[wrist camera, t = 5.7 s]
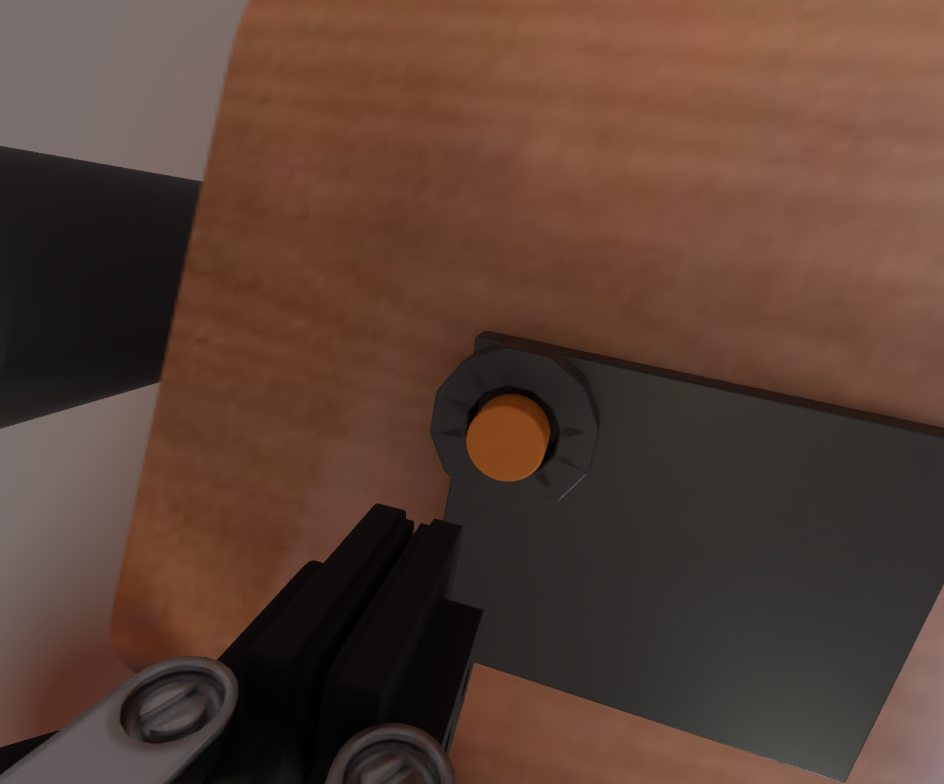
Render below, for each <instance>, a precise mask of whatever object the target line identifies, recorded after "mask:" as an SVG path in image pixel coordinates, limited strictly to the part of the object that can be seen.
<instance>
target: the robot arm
mask: <svg viewBox="0 0 944 784" xmlns="http://www.w3.org/2000/svg"><path fill="white" fill-rule="evenodd" d="M413 531H414V521H412V520H408V519H406V512H405V510H401V509H397V508H394V507H390V506H386V505H382V504H379V503H376V504H375V505H374V506H373V507H372V508H371V509H370V510H369V511H368V513H367V514H366V515H365V516H364V517H363V518H362V520H361V521H360V522H359V523H358V524H357V525H356V526H355V528H354V529H353V530H352V531H351V532H350V533H349V535H348V536H347V537H346V538H345V539H344V540H343V541H342V543H341V544H340V545H339V546H338V547H337V548H336V550H335V551H334V552H333V553H332V554H331V555H330V556H329V558H328V559H327V560H326V561H325V562H324V563H322V562H318V561H315V560H313V561H309V562H308V563H307V564H306V565H304V566H303V567H302V568H301V570H300V571H299V572H298V573H297V574H296V575H295V576H294V577H293V578H292V579H291V580H290V581H289V583H288V584H287V585H286V586H285V587H284V588H283V589H282V590H281V591H280V592H279V593H278V594H277V596H276V597H275V598H274V599H273V600H272V601H271V602H270V603H269V604H268V605H267V606H266V607H265V609H264V610H263V611H262V612H261V613H260V614H259V615H258V616H257V617H256V618H255V619H254V620H253V622H252V623H251V624H250V625H249V626H248V627H247V628H246V629H245V630H244V631H243V632H242V633H241V635H240V636H239V637H238V638H237V639H236V640H235V641H234V642H233V643H232V644H231V645H230V646H229V648H228V649H227V650H226V651H225V652H224V653H223V654H222V655H221V656H220V657H219V658H218V659H217V660H214V659H210V658H207V657H197V656H185V657H179V658H173V659H168V660H165V661H163V662H160V663H157V664H154V665H152V666H149V667H148V668H146V669H144V670H143V671H141V672H139V673H138V674H136V675H135V676H133V677H131V678H130V679H129V680H127V681H126V682H124V683H123V684H122V685H120V686H119V687H118V688H117V689H115V690H114V691H112V692H111V693H110V694H108V695H107V696H106V697H104V698H103V699H102V700H100V701H99V702H97V703H96V704H95V705H93V706H92V707H91V708H90V709H88V710H87V711H85V712H84V713H83V714H82V715H80V716H79V717H77V718H76V719H75V720H73V721H72V722H71V723H70V724H68V725H67V726H65V727H64V728H63V729H61V730H58V731H55V732H52V733H48V734H45V735H42V736H38V737H35V738H31V739H28V740H24V741H21V742H18V743H14V744H11V745H7V746H4V747H1V748H0V784H455V778H454V770H453V767H452V764H451V762H450V759H449V757H448V754H449V750H450V747H451V743H452V740H453V736H454V733H455V729H456V726H457V723H458V719H459V716H460V712H461V709H462V705H463V702H464V698H465V695H466V691H467V687H468V684H469V680H470V676H471V672H472V668H473V664H474V659H475V655H476V650H477V646H478V641H479V636H480V631H481V627H482V622H483V616H484V610H483V609H479V608H476V607H473V606H469V605H466V604H462V603H459V602H455V601H452V600H451V596H452V590H453V585H454V580H455V574H456V569H457V563H458V558H459V552H460V547H461V541H462V536H463V526H461V525H457V524H454V523H450V522H446V521H442V520H439V519H434V520H433V521H432V522H431V524H430V525H427V524H423V523H421V524H420V525H419V527H418V529H417V530H416V532H415V533H414V535H413Z"/></svg>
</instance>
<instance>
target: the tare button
mask: <svg viewBox="0 0 944 784" xmlns="http://www.w3.org/2000/svg"><path fill="white" fill-rule="evenodd" d="M549 437H550V425H549V421H548V418H547V416H546V414H545V412H544V411H543V409H542V408H541V407H540V406H539V405H538V404H537V403H536V402H535V401H533V400H532V399H530V398H528V397H526V396H523V395H519V394H503V395H500V396H497V397H495V398H493V399H491V400H490V401H489V402H487V403H486V404H485V405H484V407H483V408H482V409H481V411H480V412H479V413H478V414H477V416H476V417H475V418H474V419H473V421H472V422H471V424H470V426H469V428H468V432H467V437H466V445H467V450H468V453H469V456H470V458H471V460H472V461H473V463H474V464H475V466H476V467H477V468H478V469H479V470H480V471H481V472H483V473H484V474H485V475H487V476H489V477H491V478H493V479H496V480H500V481H517V480H520V479H523V478H526V477H528V476H529V475H531V474H532V473H533V472H534V471H536V469H537V468H538V467H539V466H540V464H541V462H542V460H543V458H544V454H545V451H546V448H547V444H548V441H549Z"/></svg>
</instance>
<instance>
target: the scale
mask: <svg viewBox="0 0 944 784" xmlns="http://www.w3.org/2000/svg"><path fill="white" fill-rule="evenodd" d="M503 394H519V395H523V396H526V397H528V398H530V399H532V400H533V401H535V402H536V403H537V404H538V405H539V406H540V407H541V408H542V409H543V411H544V412H545V414H546V416H547V418H548V421H549V425H550V437H549V441H548V444H547V448H546V451H545V454H544V458H543V460H542V462H541V464H540V466H539V467H538V468H537V469H536V471H534V472H533V473H532V474H531V475H529V476H528V477H526V478H523V479H520V480H517V481H500V480H496V479H493V478H491V477H489V476H487V475H485V474H484V473H483V472H481V471H480V470H479V469H478V468H477V467H476V466H475V464H474V463H473V461H472V460H471V458H470V456H469V453H468V450H467V445H466V437H467V432H468V428H469V426H470V424H471V422H472V421H473V419H474V418H475V417H476V416H477V414H478V413H479V412H480V411H481V409H482V408H483V407H484V405H485V404H486V403H487V402H489V401H490V400H491V399H493V398H495V397H497V396H500V395H503ZM430 431H431V436H432V439H433V442H434V444H435V447H436V450H437V452H438V455H439V458H440V460H441V463H442V466H443V468H444V470H445V472H446V473H447V474H448V475H449V476H450V477H451V482H450V487H449V493H448V499H447V504H446V510H445V516H444V521H446V522H450V523H454V524H457V525H461V526H463V536H462V541H461V547H460V552H459V558H458V563H457V569H456V574H455V580H454V585H453V590H452V596H451V600H452V601H455V602H459V603H462V604H466V605H469V606H473V607H476V608H479V609H483V610H484V616H483V622H482V627H481V631H480V636H479V641H478V646H477V650H476V655H475V659H474V662H475V663H478V664H481V665H484V666H487V667H490V668H493V669H496V670H499V671H503V672H506V673H509V674H512V675H515V676H518V677H521V678H524V679H527V680H530V681H533V682H536V683H539V684H542V685H545V686H548V687H551V688H554V689H557V690H560V691H564V692H567V693H570V694H573V695H576V696H579V697H582V698H585V699H588V700H591V701H594V702H597V703H600V704H603V705H606V706H609V707H612V708H615V709H618V710H621V711H624V712H628V713H631V714H634V715H637V716H640V717H643V718H646V719H649V720H652V721H655V722H658V723H661V724H664V725H667V726H670V727H673V728H676V729H679V730H682V731H685V732H688V733H692V734H695V735H698V736H701V737H704V738H707V739H710V740H713V741H716V742H719V743H722V744H725V745H728V746H731V747H734V748H737V749H740V750H743V751H746V752H749V753H753V754H756V755H759V756H762V757H765V758H768V759H771V760H774V761H777V762H780V763H783V764H786V765H789V766H792V767H795V768H798V769H801V770H804V771H807V772H810V773H813V774H817V775H820V776H823V777H826V778H829V779H832V780H835V781H838V782H841V783H845V782H846V780H847V778H848V776H849V774H850V772H851V770H852V768H853V766H854V764H855V762H856V760H857V758H858V756H859V754H860V752H861V750H862V748H863V746H864V744H865V742H866V740H867V738H868V736H869V733H870V731H871V729H872V727H873V725H874V723H875V721H876V719H877V717H878V715H879V713H880V711H881V709H882V707H883V705H884V703H885V701H886V699H887V697H888V695H889V693H890V691H891V689H892V687H893V685H894V683H895V681H896V679H897V677H898V675H899V673H900V671H901V669H902V667H903V665H904V663H905V661H906V659H907V657H908V655H909V653H910V651H911V649H912V647H913V645H914V643H915V641H916V639H917V637H918V635H919V633H920V631H921V629H922V627H923V625H924V623H925V621H926V619H927V617H928V615H929V613H930V611H931V609H932V607H933V605H934V603H935V601H936V599H937V597H938V595H939V593H940V591H941V589H942V587H943V585H944V428H940V427H935V426H930V425H926V424H921V423H916V422H911V421H907V420H902V419H897V418H893V417H888V416H883V415H879V414H874V413H869V412H865V411H860V410H855V409H851V408H846V407H841V406H836V405H832V404H827V403H822V402H818V401H813V400H808V399H804V398H799V397H794V396H790V395H785V394H780V393H776V392H771V391H766V390H761V389H757V388H752V387H747V386H743V385H738V384H733V383H729V382H724V381H719V380H715V379H710V378H705V377H700V376H696V375H691V374H686V373H682V372H677V371H672V370H668V369H663V368H658V367H654V366H649V365H644V364H640V363H635V362H630V361H625V360H621V359H616V358H611V357H607V356H602V355H597V354H593V353H588V352H583V351H579V350H574V349H569V348H564V347H560V346H555V345H550V344H546V343H541V342H536V341H532V340H527V339H522V338H518V337H513V336H508V335H504V334H499V333H494V332H489V331H484V332H482V333H481V334H479V335H478V336H477V337H476V339H475V345H474V351H473V354H472V355H470V356H469V357H468V358H466V359H465V360H464V361H462V363H461V364H460V365H459V366H458V367H457V368H456V370H455V371H454V372H453V373H452V374H451V375H450V377H449V378H448V379H447V380H446V381H445V382H444V384H443V385H442V386H441V387H440V388H439V389H438V391H437V394H436V397H435V404H434V410H433V416H432V423H431V429H430Z"/></svg>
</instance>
